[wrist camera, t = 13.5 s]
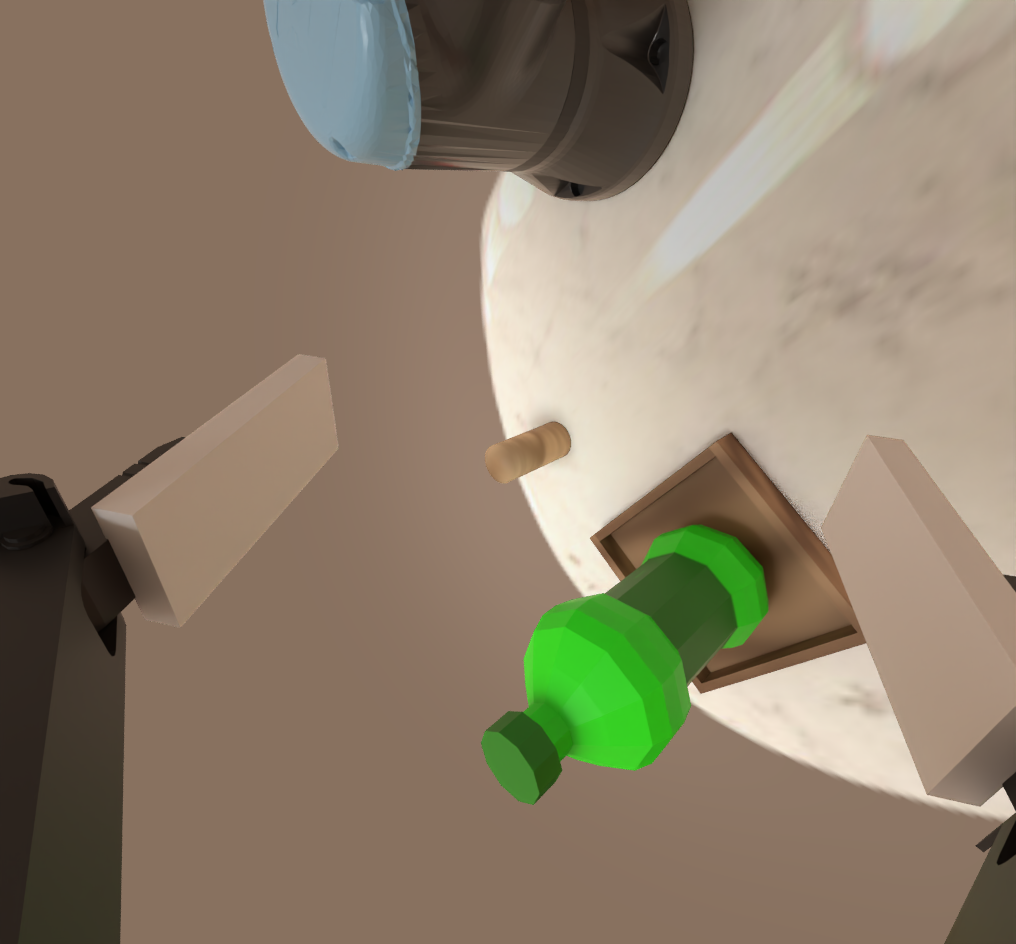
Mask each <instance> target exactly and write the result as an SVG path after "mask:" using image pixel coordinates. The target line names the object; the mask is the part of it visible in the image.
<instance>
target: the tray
mask: <svg viewBox="0 0 1016 944" xmlns="http://www.w3.org/2000/svg"><path fill="white" fill-rule="evenodd" d="M691 525H704V526H707V527H709V528H712V529H715V530H718V531H720V532H723V533H726V534H729V535H731V536H734V537H736V538H737V539H738V540H739V541H740V542H741V543H742V544H743V545H744V547H745V548H746V549H747V550H748V551H749V552H750V553H751V554H752V556H753V557H754V558H755V559H756V560H757V561H758V562H759V563H760V565H761V566H762V567H763V571H764V577H765V583H766V589H767V595H768V601H769V603H768V613H767V614H766V615H765V617H764V618H763V619H762V621H761V622H760V623H759V624H758V626H757V627H756V628H755V630H754V631H753V632H752V634H751V635H750V636H749V637H748V639H747V640H746V641H745V642H744V643H743V645H740V646H736V647H733V648H723V649H720V650H719V651H718V652H717V653H716V654H715V656H714V657H713V658H712V659H711V660H710V661H709V662H708V664H707V665H706V666H705V667H704V668H703V669H702V670H701V672H700V673H699V674H698V675H697V676H696V677H695V678H694V680H693V681H692V682H693V683H694V685H695V686H696V688H697V689H698V690H699V692H700V693H701V694H702V693H705V692H708V691H711V690H715V689H718V688H721V687H724V686H728V685H731V684H734V683H738V682H741V681H744V680H747V679H751V678H754V677H757V676H760V675H764V674H767V673H770V672H773V671H777V670H780V669H783V668H786V667H790V666H793V665H796V664H800V663H803V662H806V661H809V660H813V659H816V658H819V657H822V656H826V655H829V654H832V653H835V652H839V651H842V650H845V649H849V648H852V647H855V646H858V645H862V644H865V643H867V642H866V640H865V637H864V635H863V632H862V630H861V627H860V625H859V622H858V620H857V617H856V615H855V612H854V610H853V607H852V605H851V602H850V600H849V597H848V595H847V592H846V590H845V587H844V585H843V582H842V580H841V577H840V574H839V572H838V569H837V567H836V564H835V562H834V559H833V557H832V555H831V554H830V552H829V551H828V550H827V549H826V547H825V546H824V545H823V544H822V543H821V541H820V540H819V539H818V538H817V536H816V535H815V534H814V533H813V532H812V530H811V529H810V528H809V527H808V526H807V524H806V523H805V522H804V521H803V519H802V518H801V517H800V516H799V515H798V513H797V512H796V511H795V510H794V508H793V507H792V506H791V505H790V504H789V502H788V501H787V500H786V499H785V498H784V496H783V495H782V494H781V493H780V491H779V490H778V489H777V488H776V487H775V485H774V484H773V483H772V482H771V481H770V479H769V478H768V477H767V476H766V474H765V473H764V472H763V471H762V470H761V468H760V467H759V466H758V465H757V463H756V462H755V461H754V460H753V459H752V457H751V456H750V455H749V454H748V453H747V451H746V450H745V449H744V448H743V446H742V445H741V444H740V443H739V442H738V440H737V439H736V438H735V437H734V435H733V434H732V433H730V434H728V435H726V436H725V437H723V438H721V439H720V440H718V441H717V442H715V443H714V444H713V445H711V446H710V447H709V448H707V449H706V450H705V451H703V452H702V453H701V454H699V455H698V456H697V457H695V458H694V459H693V460H692V461H690V462H689V463H688V464H686V465H685V466H684V467H682V468H681V469H680V470H678V471H677V472H676V473H674V474H673V475H672V476H670V477H669V478H668V479H667V480H665V481H664V482H663V483H661V484H660V485H659V486H657V487H656V488H655V489H653V490H652V491H651V492H649V493H648V494H647V495H646V496H644V497H643V498H642V499H640V500H639V501H638V502H636V503H635V504H634V505H632V506H631V507H630V508H628V509H627V510H626V511H624V512H623V513H622V514H621V515H619V516H618V517H617V518H615V519H614V520H613V521H611V522H610V523H609V524H607V525H606V526H605V527H603V528H602V529H601V530H600V531H598V532H597V533H596V534H594V535H593V536H592V537H590V539H591V541H592V542H593V543H594V545H595V546H596V548H597V549H598V550H599V552H600V553H601V555H602V556H603V557H604V559H605V560H606V562H607V563H608V564H609V566H610V567H611V569H612V570H613V571H614V573H615V574H616V576H617V577H618V578H619V580H620V581H622V580H623V579H624V578H626V577H627V576H628V575H630V574H631V573H632V572H633V571H635V570H636V569H637V568H639V567H640V566H641V565H642V563H643V561H644V559H645V557H646V555H647V553H648V551H649V549H650V547H651V545H652V543H653V541H654V539H656V538H657V537H658V536H660V535H661V534H663V533H666V532H670V531H673V530H677V529H680V528H684V527H687V526H691Z"/></svg>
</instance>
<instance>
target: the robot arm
mask: <svg viewBox="0 0 1016 944" xmlns="http://www.w3.org/2000/svg"><path fill="white" fill-rule="evenodd" d="M263 2H264V8H265V14H266V20H267V25H268V30H269V34H270V38H271V41H272V45H273V50H274V54H275V57H276V61H277V64H278V67H279V71H280V74H281V76H282V79H283V82H284V84H285V87H286V89H287V92H288V94H289V96H290V99H291V101H292V103H293V105H294V107H295V109H296V111H297V113H298V114H299V116H300V118H301V119H302V121H303V123H304V124H305V126H306V127H307V129H308V130H309V131H310V133H311V134H312V135H313V136H314V138H315V139H316V140H317V141H318V142H319V143H320V144H321V145H322V146H323V147H324V148H326V149H327V150H328V151H330V152H331V153H332V154H334V155H336V156H338V157H340V158H342V159H345V160H348V161H352V162H359V163H367V164H374V165H382V166H385V167H387V168H389V169H392V170H395V171H396V170H403V169H425V170H427V169H428V170H465V171H468V170H469V171H507V172H512V173H514V174H515V175H517V176H519V177H520V178H522V179H524V180H525V181H527V182H529V183H530V184H532V185H533V186H535V187H537V188H538V189H540V190H542V191H543V192H545V193H547V194H549V195H551V196H554V197H557V198H560V199H564V200H571V201H595V200H601V199H605V198H609V197H611V196H614V195H616V194H618V193H620V192H622V191H624V190H626V189H627V188H629V187H630V186H632V185H633V184H634V183H635V182H637V181H638V180H639V179H640V178H641V177H642V176H643V175H644V174H645V173H646V172H647V171H648V170H649V169H650V168H651V167H652V165H653V164H654V163H655V162H656V160H657V159H658V158H659V156H660V155H661V153H662V152H663V150H664V149H665V147H666V145H667V144H668V142H669V140H670V138H671V136H672V134H673V132H674V130H675V128H676V126H677V124H678V121H679V119H680V116H681V113H682V110H683V107H684V104H685V101H686V97H687V93H688V88H689V84H690V78H691V71H692V61H693V35H692V25H691V19H690V14H689V9H688V6H687V2H686V0H263ZM337 449H338V440H337V434H336V426H335V419H334V412H333V405H332V398H331V391H330V384H329V378H328V370H327V363H326V358H321V357H314V356H307V355H300V354H298V355H297V356H295V357H294V358H293V359H291V360H290V361H289V362H287V363H286V364H285V365H283V366H282V367H280V368H279V369H278V370H276V371H275V372H274V373H272V374H271V375H270V376H268V377H267V378H266V379H264V380H263V381H262V382H261V383H259V384H257V385H256V386H255V387H253V388H252V389H251V390H250V391H248V392H247V393H245V394H244V395H243V396H241V397H240V398H239V399H237V400H236V401H235V402H233V403H232V404H230V405H229V406H228V407H226V408H225V409H224V410H222V411H221V412H220V413H218V414H217V415H215V416H214V417H213V418H212V419H210V420H209V421H208V422H206V423H205V424H203V425H202V426H201V427H199V428H198V429H197V430H195V431H194V432H193V433H191V434H190V435H188V436H187V437H186V438H185V437H181V438H178V439H176V440H174V441H171V442H169V443H167V444H164V445H162V446H160V447H157V448H156V449H154V450H153V451H152V452H150V453H149V454H148V455H146V456H145V457H143V458H142V459H140V460H139V461H138V464H134V465H132V466H131V467H129V468H128V469H126V470H125V471H124V472H123V475H122V476H121V475H118V476H117V477H115V478H114V479H113V480H111V481H110V482H108V483H107V484H106V485H104V486H103V487H102V488H100V489H99V490H97V491H96V492H94V493H93V494H92V495H90V496H89V497H88V498H86V499H85V500H83V501H82V502H80V503H79V504H78V505H76V506H75V507H74V508H72V509H71V510H68V509H67V506H66V504H65V503H64V501H63V499H62V497H61V495H60V493H59V491H58V489H57V487H56V485H55V483H54V481H53V480H52V479H50V478H49V477H47V476H45V475H40V474H31V473H28V474H18V475H10V476H7V477H3V478H0V944H120V921H121V919H120V918H121V869H122V868H121V867H122V866H121V865H122V814H123V762H124V761H123V760H124V709H125V652H126V624H125V621H124V618H123V616H122V614H121V611H122V610H123V609H124V608H125V607H126V606H127V605H128V604H129V603H130V602H131V601H132V600H133V599H134V598H135V600H136V602H137V604H138V606H139V608H140V610H141V612H142V615H143V617H144V619H145V620H148V621H153V622H157V623H162V624H166V625H171V626H175V627H182V626H183V624H184V623H185V622H186V621H187V620H188V619H189V617H190V616H191V615H192V614H193V613H194V612H195V611H196V610H197V608H198V607H199V606H200V605H201V604H202V603H203V602H204V600H205V599H206V598H207V597H208V596H209V595H210V594H211V593H212V591H213V590H214V589H215V588H216V587H217V586H218V585H219V583H220V582H221V581H222V580H223V579H224V578H225V577H226V575H227V574H228V573H229V572H230V571H231V570H232V569H233V568H234V566H235V565H236V564H237V563H238V562H239V561H240V560H241V558H242V557H243V556H244V555H245V554H246V552H248V550H249V549H250V548H251V547H252V546H253V545H254V543H256V541H257V540H258V539H259V538H260V537H261V536H262V535H263V533H264V532H265V531H266V530H267V529H268V528H269V527H270V525H271V524H272V523H273V522H274V521H275V520H276V519H277V517H278V516H279V515H280V514H281V513H282V512H283V511H284V510H285V508H286V507H287V506H288V505H289V504H290V503H291V502H292V500H293V499H294V498H295V497H296V496H297V495H298V494H299V493H300V491H301V490H302V489H303V488H304V487H305V485H307V483H308V482H309V481H310V480H311V479H312V478H313V477H314V475H315V474H316V473H317V472H318V471H319V470H320V469H321V467H322V466H323V465H324V464H325V463H326V462H327V461H328V460H329V458H330V457H331V456H332V455H333V454H334V453H335V452H336V450H337ZM821 529H822V532H823V534H824V537H825V539H826V542H827V544H828V547H829V549H830V552H831V554H832V557H833V559H834V562H835V564H836V567H837V569H838V572H839V574H840V577H841V580H842V582H843V585H844V587H845V590H846V592H847V595H848V597H849V600H850V602H851V605H852V607H853V610H854V612H855V615H856V617H857V620H858V622H859V625H860V627H861V630H862V632H863V635H864V637H865V640H866V642H867V645H868V648H869V650H870V653H871V655H872V658H873V660H874V663H875V665H876V668H877V670H878V673H879V675H880V678H881V680H882V683H883V685H884V688H885V690H886V693H887V695H888V698H889V700H890V703H891V705H892V708H893V710H894V713H895V715H896V718H897V721H898V723H899V726H900V728H901V731H902V733H903V736H904V738H905V741H906V743H907V746H908V748H909V751H910V753H911V756H912V758H913V761H914V763H915V766H916V768H917V771H918V773H919V776H920V778H921V781H922V783H923V786H924V788H925V791H926V794H927V795H931V796H935V797H940V798H944V799H949V800H953V801H958V802H962V803H967V804H971V805H976V806H981V805H983V804H984V803H985V802H986V801H987V800H988V799H989V798H991V797H992V796H993V795H994V794H995V793H996V792H997V791H999V790H1000V789H1001V788H1002V787H1004V789H1005V791H1006V793H1007V795H1008V797H1009V799H1010V801H1011V803H1012V805H1013V807H1014V808H1015V810H1016V577H1015V576H1009V575H1003V574H1002V573H1001V572H1000V570H999V569H998V568H997V566H996V565H995V564H994V562H993V561H992V560H991V558H990V557H989V556H988V554H987V553H986V551H985V550H984V549H983V547H982V546H981V545H980V543H979V542H978V541H977V539H976V538H975V537H974V535H973V534H972V532H971V531H970V530H969V528H968V527H967V526H966V524H965V523H964V522H963V520H962V519H961V518H960V516H959V515H958V513H957V512H956V511H955V509H954V508H953V507H952V505H951V504H950V503H949V501H948V500H947V499H946V497H945V496H944V495H943V493H942V492H941V490H940V489H939V488H938V486H937V485H936V484H935V482H934V481H933V480H932V478H931V477H930V476H929V474H928V473H927V471H926V470H925V469H924V467H923V466H922V465H921V463H920V462H919V461H918V459H917V458H916V457H915V455H914V454H913V452H912V451H911V450H910V448H909V447H908V446H907V444H906V443H905V442H904V440H899V439H892V438H885V437H878V436H871V435H867V436H866V438H865V440H864V442H863V444H862V446H861V448H860V450H859V452H858V454H857V456H856V458H855V460H854V462H853V464H852V466H851V468H850V470H849V472H848V474H847V476H846V478H845V480H844V482H843V484H842V486H841V488H840V490H839V492H838V495H837V497H836V499H835V501H834V503H833V505H832V507H831V509H830V511H829V513H828V515H827V517H826V519H825V521H824V523H823V525H822V527H821ZM991 846H992V847H991ZM976 847H978V848H979V849H980V850H982V851H983V852H985V851H986V850H987V849H989V848H990V847H991V849H990V851H989V853H988V855H987V857H986V859H985V862H984V863H983V865H982V867H981V870H980V872H979V874H978V876H977V878H976V880H975V882H974V884H973V886H972V888H971V890H970V892H969V894H968V896H967V898H966V900H965V903H964V905H963V907H962V908H961V911H960V912H959V915H958V917H957V919H956V921H955V923H954V925H953V927H952V929H951V931H950V933H949V935H948V937H947V939H946V941H945V943H944V944H1016V813H1015V814H1014V815H1012V816H1011V817H1010V818H1009V819H1007V820H1006V821H1005V822H1004V823H1002V824H1001V825H1000V826H999V827H998V828H996V829H995V830H994V831H993V832H991V833H990V834H989V835H988V836H986V837H985V838H984V839H983V840H982V841H981V842H979V843H978V844H977V845H976Z"/></svg>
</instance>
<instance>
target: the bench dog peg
mask: <svg viewBox="0 0 1016 944" xmlns="http://www.w3.org/2000/svg"><path fill="white" fill-rule="evenodd" d="M570 447H571V440H570V436H569V434H568V432H567V430H566V429H565V428H564V427H563V426H562V425H561V424H559V423H557V422H550V423H548V424H545V425H543V426H540V427H538V428H535V429H533V430H530V431H527V432H525V433H522V434H520V435H517V436H515V437H512V438H510V439H507V440H505V441H502V442H500V443H497V444H495V445H492V446H490V447H489V448H488V449H487V451H486V454H485V462H486V467H487V469H488V471H489V473H490V474H491V476H492V477H493V478H494V479H495V480H496V481H498V482H500V483H508V482H510V481H512V480H514V479H516V478H518V477H521V476H523V475H525V474H527V473H529V472H531V471H533V470H536V469H538V468H540V467H542V466H544V465H546V464H548V463H551V462H553V461H555V460H557V459H559V458H561V457H563V456H565V455H567V454H568V452H569V450H570Z"/></svg>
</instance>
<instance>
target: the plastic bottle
mask: <svg viewBox="0 0 1016 944" xmlns="http://www.w3.org/2000/svg"><path fill="white" fill-rule="evenodd" d="M768 603H769V601H768V595H767V589H766V583H765V577H764V571H763V567H762V566H761V565H760V563H759V562H758V561H757V560H756V559H755V558H754V557H753V556H752V554H751V553H750V552H749V551H748V550H747V549H746V548H745V547H744V545H743V544H742V543H741V542H740V541H739V540H738V539H737V538H736V537H734V536H731V535H729V534H726V533H723V532H720V531H718V530H715V529H712V528H709V527H707V526H704V525H691V526H687V527H684V528H680V529H677V530H673V531H670V532H666V533H663V534H661V535H660V536H658V537H657V538H656V539H654V541H653V543H652V545H651V547H650V549H649V551H648V553H647V555H646V557H645V559H644V561H643V563H642V565H641V566H640V567H639V568H637V569H636V570H635V571H633V572H632V573H631V574H630V575H628V576H627V577H626V578H624V579H623V580H622V581H620V582H619V583H618V584H617V585H615V586H614V587H613V588H611V589H610V590H609V591H608V592H606V593H605V594H604V593H602V594H597V595H592V596H587V597H582V598H577V599H572V600H569V601H566V602H564V603H561V604H559V605H556V606H555V607H553V608H552V609H550V610H549V611H548V612H546V613H545V614H544V615H543V616H542V618H541V619H540V621H539V623H538V625H537V627H536V629H535V630H534V633H533V635H532V638H531V641H530V644H529V646H528V649H527V652H526V654H525V657H524V669H525V684H526V691H527V697H528V704H529V708H527V709H526V710H525V711H524V712H512V711H508V712H507V713H506V714H505V715H504V716H502V717H501V718H500V719H499V720H498V721H497V722H495V723H494V724H493V725H492V726H491V727H489V728H488V729H487V730H486V731H485V733H484V736H483V739H482V742H481V744H482V748H483V751H484V755H485V758H486V762H487V764H488V766H489V767H490V769H491V770H492V772H493V773H494V775H495V777H496V778H497V780H498V781H499V783H500V784H501V786H503V787H504V788H505V789H506V790H507V791H508V792H509V793H511V795H513V796H514V797H515V798H516V799H517V800H518V801H520V802H524V803H528V804H532V805H534V804H535V803H536V802H537V801H538V800H539V799H540V798H541V796H542V795H543V794H544V793H545V792H546V791H547V790H548V789H549V788H550V787H551V786H552V785H553V784H554V783H555V782H556V780H557V779H558V777H559V775H560V773H561V772H562V768H561V764H560V761H561V760H562V759H563V758H564V757H565V756H569V757H571V758H574V759H577V760H580V761H584V762H587V763H591V764H595V765H599V766H606V767H613V768H620V769H628V770H637V769H640V768H642V767H644V766H647V765H649V764H652V762H654V760H655V759H656V758H657V757H658V755H659V754H660V753H661V752H662V750H663V749H664V748H665V747H666V745H667V744H668V743H669V742H670V740H671V739H672V738H673V736H674V735H675V734H676V732H677V731H678V730H679V728H680V727H681V726H682V725H683V723H684V722H685V719H686V717H687V715H688V712H689V710H690V707H691V703H690V698H689V693H688V688H687V686H688V685H689V684H690V683H691V682H692V681H693V680H694V678H695V677H696V676H697V675H698V674H699V673H700V672H701V670H702V669H703V668H704V667H705V666H706V665H707V664H708V662H709V661H710V660H711V659H712V658H713V657H714V656H715V654H716V653H717V652H718V651H719V650H720V649H723V648H733V647H736V646H740V645H743V643H744V642H745V641H746V640H747V639H748V637H749V636H750V635H751V634H752V632H753V631H754V630H755V628H756V627H757V626H758V624H759V623H760V622H761V621H762V619H763V618H764V617H765V615H766V614H767V613H768Z"/></svg>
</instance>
